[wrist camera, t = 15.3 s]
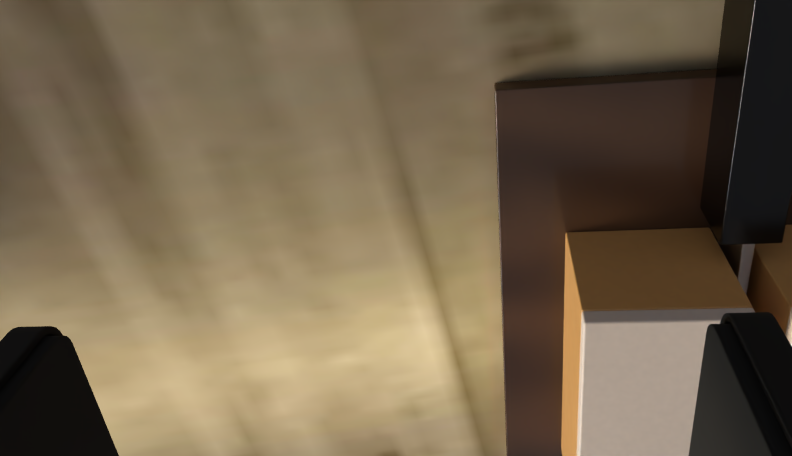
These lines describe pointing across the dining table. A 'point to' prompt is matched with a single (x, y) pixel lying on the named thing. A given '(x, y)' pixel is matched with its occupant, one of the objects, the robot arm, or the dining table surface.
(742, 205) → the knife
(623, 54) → the dining table surface
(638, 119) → the cake board
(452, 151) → the dining table surface
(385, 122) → the dining table surface
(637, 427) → the cake
